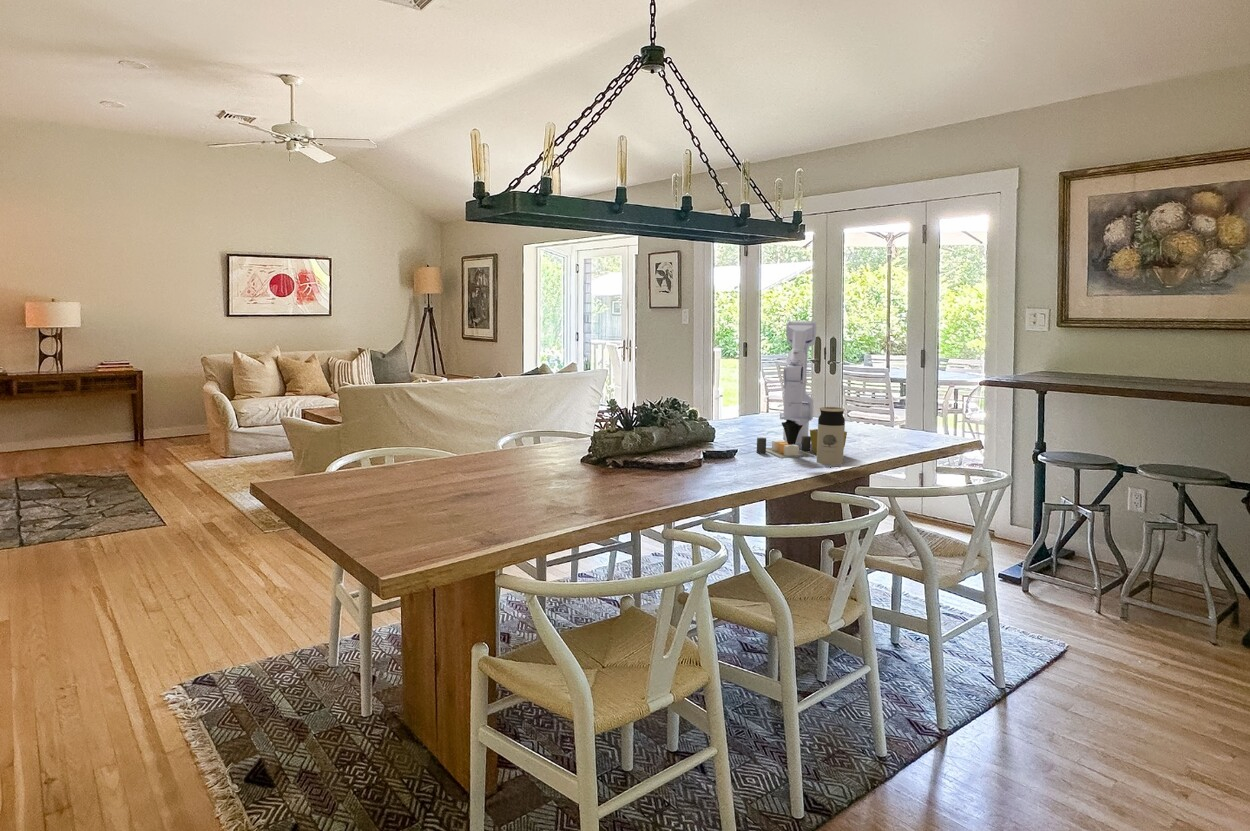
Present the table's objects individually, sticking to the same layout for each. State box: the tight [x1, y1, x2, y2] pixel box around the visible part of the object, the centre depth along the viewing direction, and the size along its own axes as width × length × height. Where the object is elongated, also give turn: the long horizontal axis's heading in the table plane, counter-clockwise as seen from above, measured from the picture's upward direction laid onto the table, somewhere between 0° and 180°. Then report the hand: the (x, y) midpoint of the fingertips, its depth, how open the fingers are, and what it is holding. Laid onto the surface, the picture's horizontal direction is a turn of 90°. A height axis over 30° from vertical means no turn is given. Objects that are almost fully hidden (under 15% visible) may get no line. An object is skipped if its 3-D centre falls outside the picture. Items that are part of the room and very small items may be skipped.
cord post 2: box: [800, 435, 812, 453], centre depth 265 cm, size 3×3×6 cm
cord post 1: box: [756, 437, 767, 455], centre depth 261 cm, size 3×3×6 cm
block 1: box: [771, 439, 787, 451], centre depth 266 cm, size 2×4×3 cm, turn 104°
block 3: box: [784, 444, 800, 456], centre depth 257 cm, size 2×4×3 cm, turn 104°
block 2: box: [778, 442, 789, 453], centre depth 262 cm, size 2×4×3 cm, turn 104°
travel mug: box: [816, 406, 846, 469], centre depth 245 cm, size 8×8×18 cm
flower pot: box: [809, 428, 848, 455], centre depth 259 cm, size 9×9×9 cm
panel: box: [766, 447, 815, 459], centre depth 262 cm, size 18×12×2 cm, turn 14°
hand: (791, 444), depth 257 cm, fingers closed
